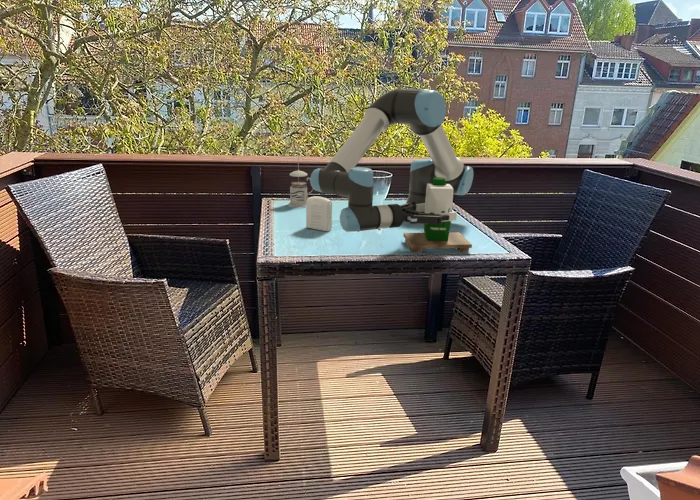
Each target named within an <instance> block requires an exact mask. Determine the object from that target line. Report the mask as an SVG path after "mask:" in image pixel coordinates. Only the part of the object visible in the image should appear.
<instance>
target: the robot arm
mask: <svg viewBox="0 0 700 500" xmlns="http://www.w3.org/2000/svg"><path fill="white" fill-rule="evenodd" d="M446 110H447V109H446V101H445V98H444V96H443V95H442V94H441V93H440V92H439V91H438V90H434V89H428V88H424V89H418V88H417V89H415V88H411V89H410V88H408V89H407V88H396V89H392V90H389V91H387V92H385V93H383V94H382V95H380V96H379V97H378V98H377V99H376V100H374V101H373V102H372V103H371V104H370V105H369V107H367V109H366V110H365V112H364V117H363V119H362V120H361V121H360V122H359V124H358V125H357V126H356V128H355V129H354V130H353V131H352V133H351V134H350V135H349V137H348V138H347V140H346V141H345V142H344V143H343V144H342V145H341V146H340V148H339V150H337V152H336V153H335V154H334V156H333V157H332V158H331V160H330V161H329V162H328V164H327V165H326V166H325V167H324V168H323V167H321V168H320V167H318V168H316V169H313V171H312V172H311V174H310V177H309V183H310V186H311V188H312V189H313V190H314V191H316V192H319V193H322V194H329V195H335V196H339V197H344V198H347V199H348V202H347V205H348V206H347V207H343V208H342V209H341V211H340V214H339V223H340V226H341V228H342V230H344V231H345V232H347V233H352V232H358V233H359V232H363V231H371V230H373V231H374V230H377V231H381V229H391V228H393V229H394V228H400V227H401V226H402V225H403V223H404V222H405V223H409V224H411V225H417V224H419V225H420V224H421V225H424V224H438V225H440V224H442V222H445V221H451V222H453V221H455V222H456V221H457V211H452V212H447V213H438V214H428V213H425V199H426V188H427V183H429V184H431V183H433V178H437V177H439V178H445V184H450V185H451V186H452V188H453V195H456V196H465V195H466V194H468V192H469V191H470V189H471V187H472V184H473V181H474V180H473V179H474V168H473V167H472V166H469V165H467V166H466V165H465V164H464V162H463V161H462V159H461V158H459V157H458V156H457V155H456V153H455V152H454V149H453V147H452V145H451V143H450V140H449V137H448V136H447V134H446V133H447V132H446V130H445V129H444V127H443V122H444V120H445V117H446V113H447V111H446ZM395 124H398V125H408V126H409V127H410V129H411V130H412V132H413V133H414V134H415V135H417V136H418V137H420V139H421V141H422V143H423V145H424V147H425V149H426V150H427V153H428V155H429V157H430V158H425V159H424V158H423V159H415V160H414V161H412V162H411V164H410V170H409V174H410V175H409V189H408V197H407V199H406V202H405V203H403V204H398V203H391V204H377V205H373V200H374V199H373V198H374V185H375V183H374V170H372V169H371V168H369V167H361V166H357V165H358V163H359V162H360V161H361V159H362V158H363V157H364V155H366V152H367V151H368V150H369V148H371V146H372V145H373V144H374V143H375V141H376V139H377V138H378V136H380V134H381V133H382V132H384V131H386V130H388V129H389V127H390V126H392V125H395ZM356 166H357V167H356Z"/></svg>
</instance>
